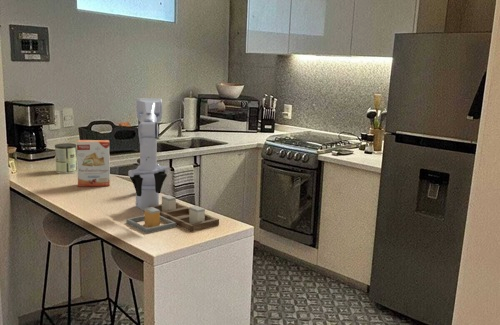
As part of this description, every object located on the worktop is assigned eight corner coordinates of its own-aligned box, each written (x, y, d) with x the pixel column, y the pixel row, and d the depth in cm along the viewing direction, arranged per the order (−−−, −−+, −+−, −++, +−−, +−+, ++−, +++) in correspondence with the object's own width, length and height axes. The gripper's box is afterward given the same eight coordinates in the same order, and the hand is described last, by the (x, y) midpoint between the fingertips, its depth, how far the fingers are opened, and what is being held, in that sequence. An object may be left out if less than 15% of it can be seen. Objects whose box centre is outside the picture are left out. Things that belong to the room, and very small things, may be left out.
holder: (148, 213, 182) (147, 206, 181) (174, 208, 190) (174, 201, 189) (191, 233, 162) (191, 225, 161) (219, 227, 170) (219, 219, 169)
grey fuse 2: (189, 223, 170) (189, 207, 169) (196, 221, 172) (196, 205, 171) (197, 227, 166) (197, 210, 165) (204, 225, 168) (204, 208, 167)
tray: (126, 225, 168) (126, 219, 168) (155, 219, 176) (155, 213, 175) (146, 235, 158) (146, 229, 158) (176, 228, 166) (176, 222, 166)
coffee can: (61, 169, 254) (60, 142, 251) (80, 170, 253) (79, 143, 250) (52, 173, 244) (50, 145, 241) (71, 174, 243) (70, 146, 240)
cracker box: (77, 187, 217) (76, 141, 213) (78, 184, 223) (77, 139, 219) (110, 186, 221) (109, 141, 217) (110, 183, 227) (109, 139, 223)
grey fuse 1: (161, 211, 183) (161, 196, 182) (168, 210, 185) (168, 194, 184) (169, 214, 179) (169, 199, 178) (175, 213, 181) (175, 197, 180)
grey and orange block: (144, 224, 167) (144, 208, 166) (152, 223, 169) (152, 206, 168) (152, 228, 164) (152, 211, 163) (159, 226, 166) (159, 210, 165)
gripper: (135, 160, 160) (135, 199, 162) (172, 156, 169) (172, 193, 172) (125, 156, 165) (125, 195, 167) (161, 153, 174) (161, 189, 177)
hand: (148, 194), depth 170 cm, fingers open, 7 cm apart
